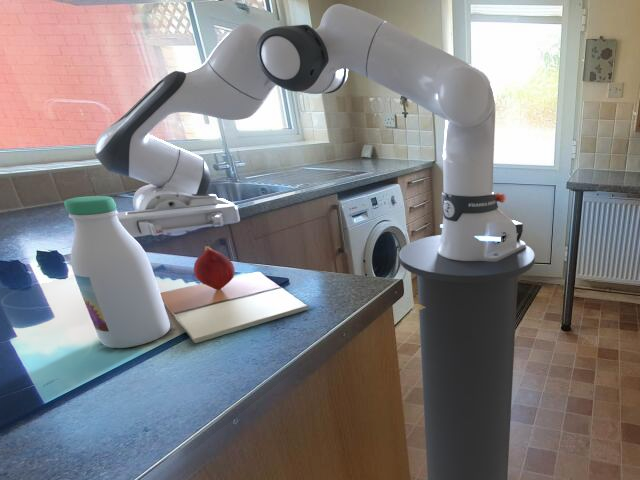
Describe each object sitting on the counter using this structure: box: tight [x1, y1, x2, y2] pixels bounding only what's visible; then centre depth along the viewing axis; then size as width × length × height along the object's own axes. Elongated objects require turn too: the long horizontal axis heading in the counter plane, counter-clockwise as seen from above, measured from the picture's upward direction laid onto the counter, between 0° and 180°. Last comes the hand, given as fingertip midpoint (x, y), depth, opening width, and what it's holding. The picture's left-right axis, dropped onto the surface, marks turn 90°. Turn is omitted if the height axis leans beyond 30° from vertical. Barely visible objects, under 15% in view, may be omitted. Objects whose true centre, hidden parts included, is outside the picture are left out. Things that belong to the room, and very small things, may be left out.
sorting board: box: [160, 271, 309, 344], centre depth 70 cm, size 16×22×1 cm
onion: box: [193, 246, 236, 290], centre depth 72 cm, size 6×6×8 cm
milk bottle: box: [63, 195, 171, 349], centre depth 56 cm, size 8×8×20 cm
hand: (189, 226), depth 77 cm, fingers open, 8 cm apart
